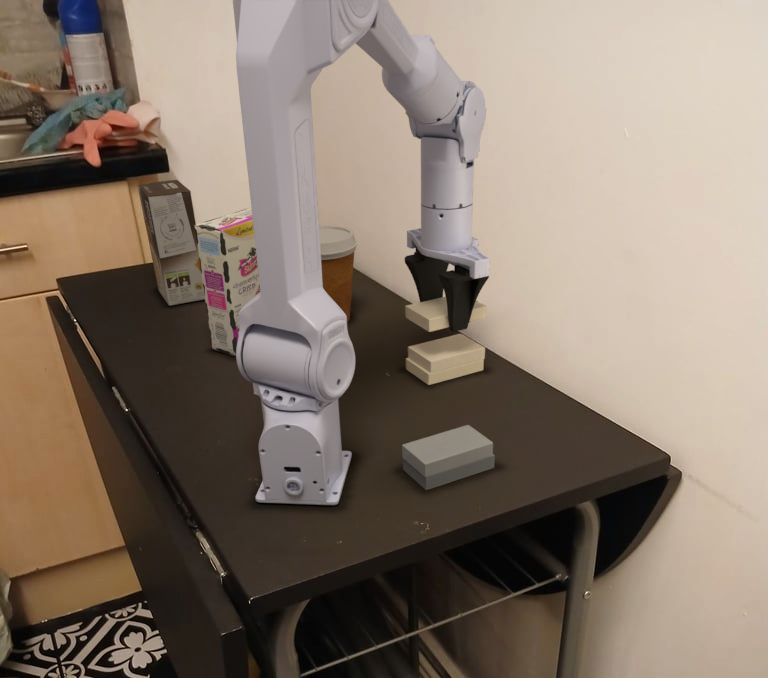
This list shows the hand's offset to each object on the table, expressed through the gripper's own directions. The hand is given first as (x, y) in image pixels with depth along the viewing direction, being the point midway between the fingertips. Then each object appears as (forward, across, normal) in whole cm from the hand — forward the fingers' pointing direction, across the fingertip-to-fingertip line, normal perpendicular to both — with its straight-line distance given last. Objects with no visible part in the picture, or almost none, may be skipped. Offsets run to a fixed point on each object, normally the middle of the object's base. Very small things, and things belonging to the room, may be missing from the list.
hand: (445, 321), depth 95 cm
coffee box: (+6, +46, +20) cm, 51 cm away
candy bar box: (+6, +22, +17) cm, 29 cm away
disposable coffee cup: (+6, +24, +5) cm, 25 cm away
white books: (+6, 0, 0) cm, 6 cm away
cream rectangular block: (0, 0, 0) cm, 0 cm away
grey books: (+6, -20, +12) cm, 24 cm away
